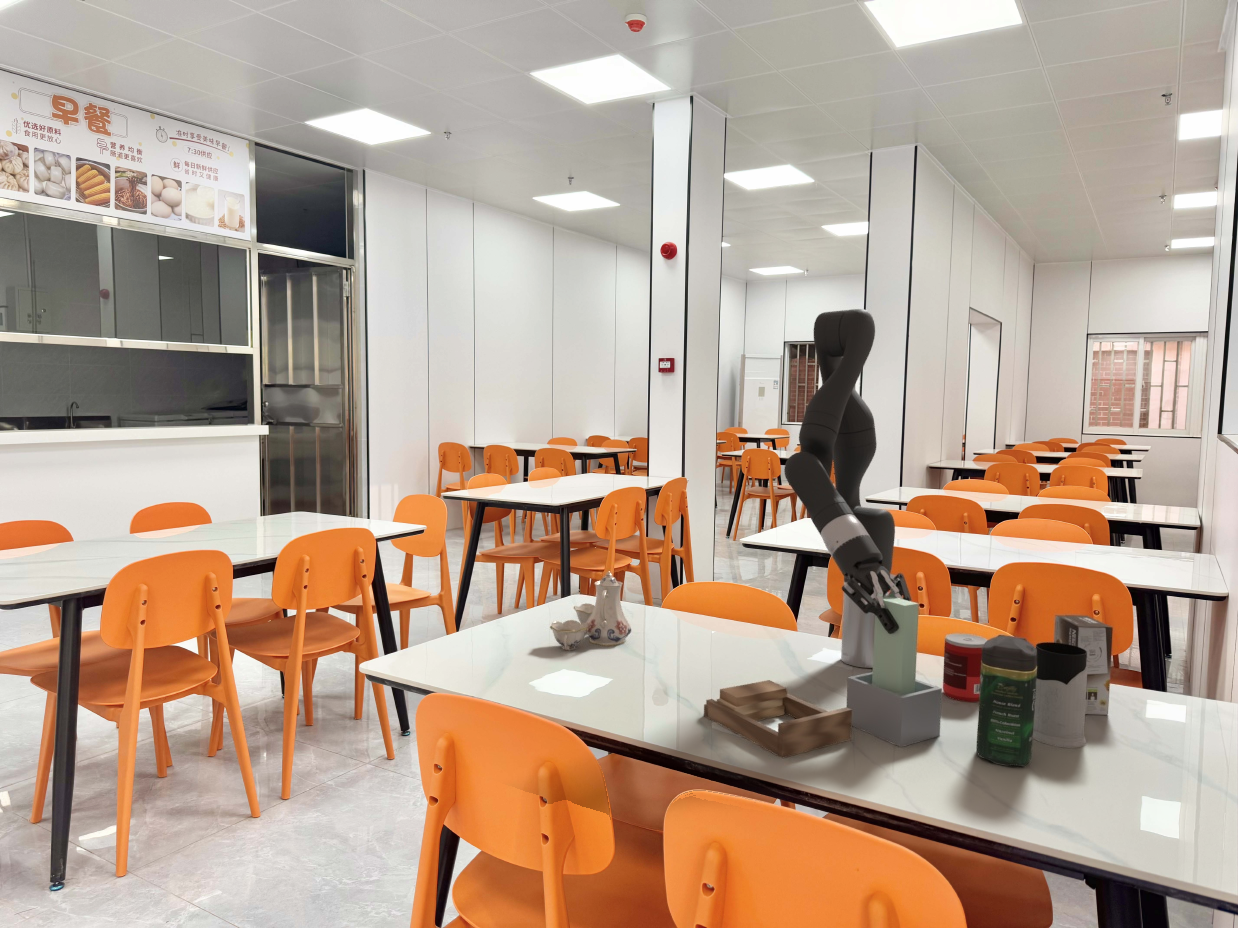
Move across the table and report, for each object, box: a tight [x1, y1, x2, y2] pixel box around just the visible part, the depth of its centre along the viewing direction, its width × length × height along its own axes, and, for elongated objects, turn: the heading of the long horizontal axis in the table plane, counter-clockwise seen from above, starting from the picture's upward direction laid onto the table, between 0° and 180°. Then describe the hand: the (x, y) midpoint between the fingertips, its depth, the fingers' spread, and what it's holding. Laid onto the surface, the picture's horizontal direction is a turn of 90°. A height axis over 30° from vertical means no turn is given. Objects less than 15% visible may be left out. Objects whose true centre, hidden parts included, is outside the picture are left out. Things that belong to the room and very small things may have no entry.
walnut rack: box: [703, 693, 852, 759], centre depth 139 cm, size 15×20×5 cm
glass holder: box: [1033, 641, 1087, 749], centre depth 138 cm, size 9×14×15 cm, turn 47°
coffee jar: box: [976, 634, 1037, 767], centre depth 128 cm, size 10×8×19 cm
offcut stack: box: [716, 679, 788, 722], centre depth 144 cm, size 12×5×5 cm, turn 121°
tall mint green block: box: [872, 596, 920, 696], centre depth 138 cm, size 4×6×20 cm, turn 31°
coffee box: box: [1053, 614, 1114, 716], centre depth 151 cm, size 9×6×16 cm
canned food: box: [942, 633, 988, 703], centre depth 156 cm, size 8×8×11 cm
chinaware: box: [549, 570, 632, 651], centre depth 190 cm, size 28×17×17 cm, turn 171°
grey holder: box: [846, 671, 943, 748], centre depth 139 cm, size 10×12×8 cm
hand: (902, 629), depth 137 cm, fingers closed on tall mint green block, 3 cm apart
